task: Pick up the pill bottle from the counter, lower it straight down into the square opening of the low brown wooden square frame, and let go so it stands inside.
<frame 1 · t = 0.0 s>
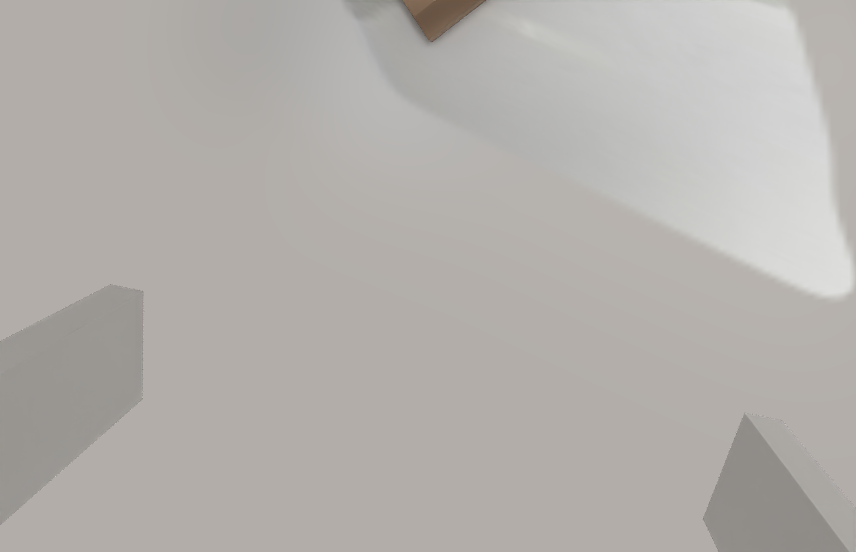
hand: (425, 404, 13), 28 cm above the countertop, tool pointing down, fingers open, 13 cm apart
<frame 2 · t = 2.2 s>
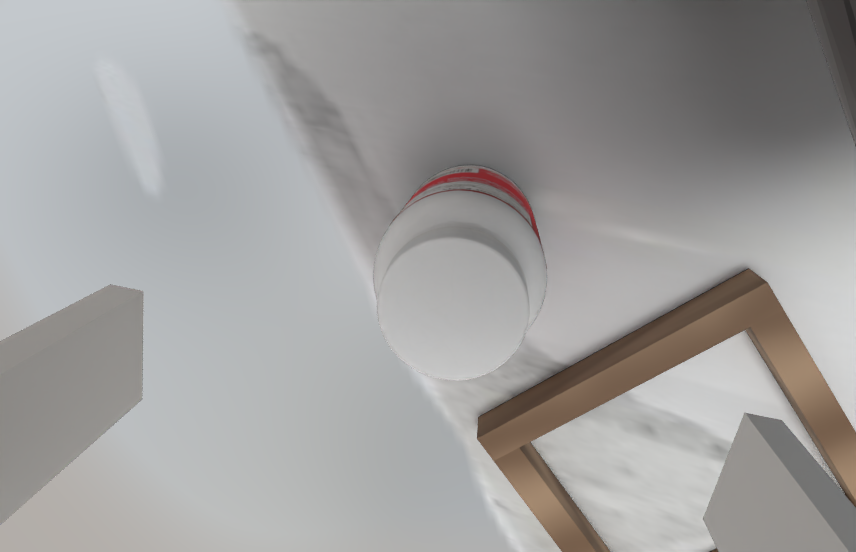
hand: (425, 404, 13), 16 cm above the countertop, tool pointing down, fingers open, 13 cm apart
brown wooden square frame: (679, 459, 31), on the countertop
pill bottle: (469, 226, 28), on the countertop
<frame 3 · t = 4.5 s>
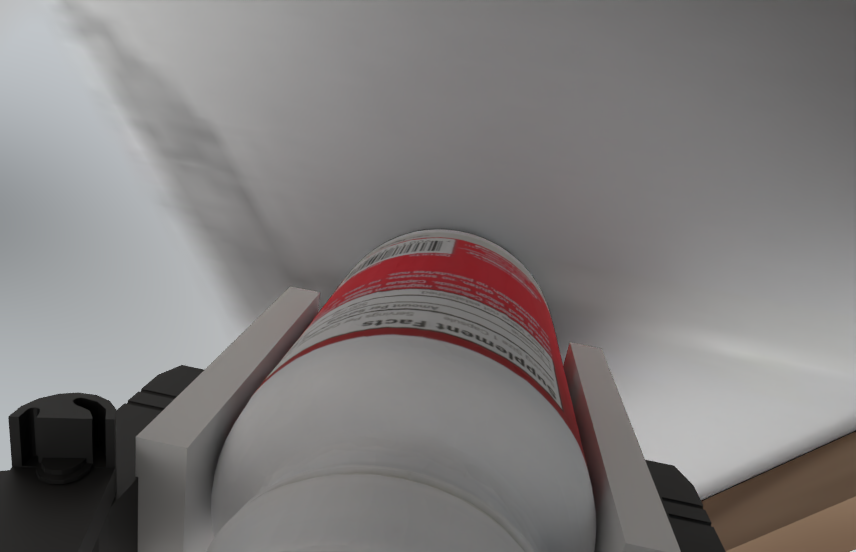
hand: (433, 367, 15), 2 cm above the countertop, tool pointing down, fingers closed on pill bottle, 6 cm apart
pill bottle: (443, 325, 17), on the countertop, touching gripper
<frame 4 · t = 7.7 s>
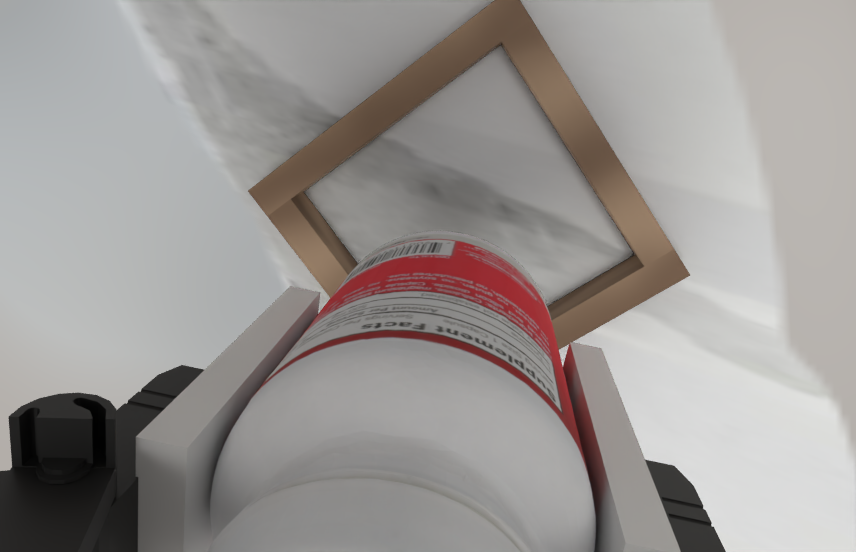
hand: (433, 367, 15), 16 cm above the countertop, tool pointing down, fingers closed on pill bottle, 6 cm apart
brown wooden square frame: (466, 222, 30), on the countertop
pill bottle: (442, 327, 17), point 13 cm above the countertop, touching gripper
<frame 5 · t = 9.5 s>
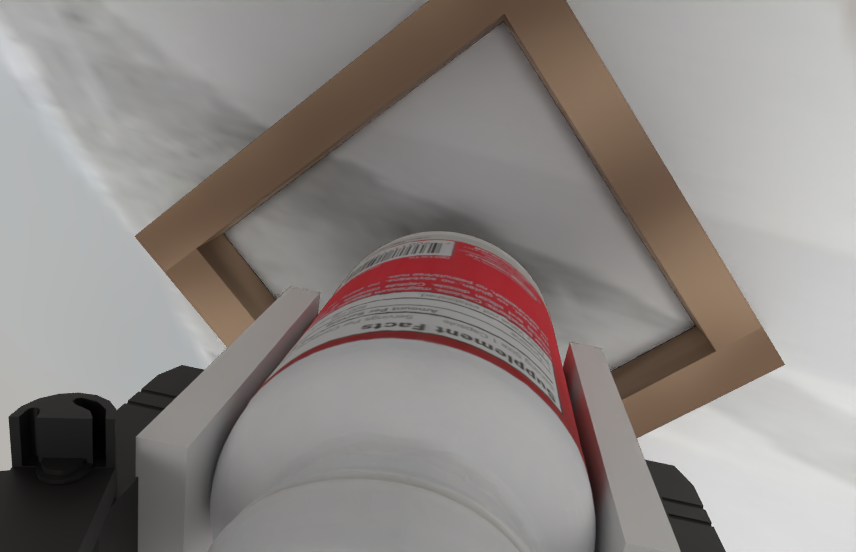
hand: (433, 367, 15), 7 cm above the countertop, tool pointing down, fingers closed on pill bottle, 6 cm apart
brown wooden square frame: (454, 278, 21), on the countertop
pill bottle: (442, 327, 17), point 4 cm above the countertop, touching gripper
when the fingers open (4 cm above the countertop, at t = 11.1 s): pill bottle drops 1 cm, resting in brown wooden square frame.
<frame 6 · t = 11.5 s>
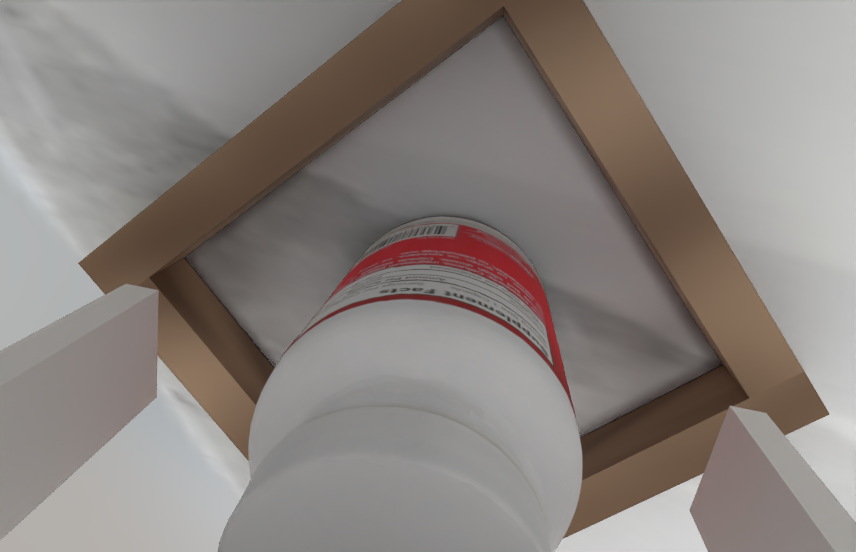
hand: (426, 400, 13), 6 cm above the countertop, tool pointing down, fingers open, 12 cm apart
brown wooden square frame: (446, 310, 18), on the countertop
pill bottle: (446, 306, 18), resting in brown wooden square frame
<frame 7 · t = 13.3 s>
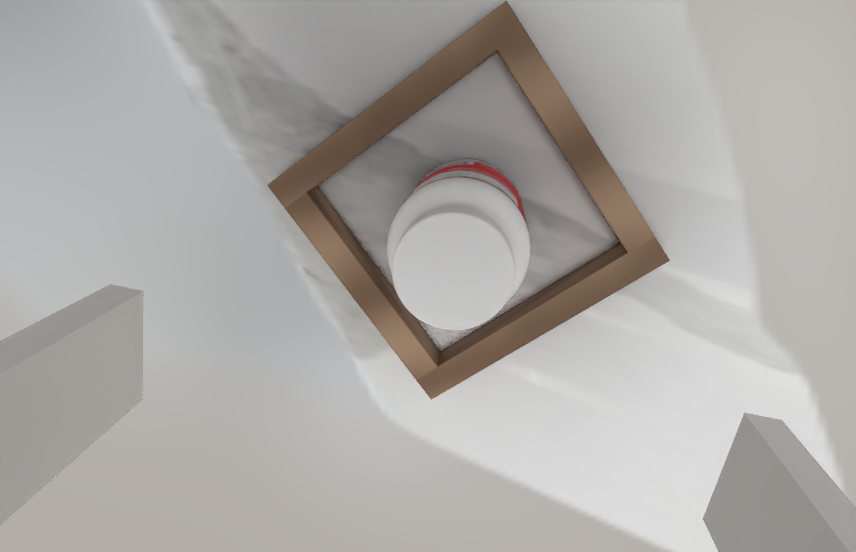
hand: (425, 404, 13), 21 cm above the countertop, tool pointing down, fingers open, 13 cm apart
brown wooden square frame: (466, 214, 33), on the countertop
pill bottle: (466, 212, 33), resting in brown wooden square frame
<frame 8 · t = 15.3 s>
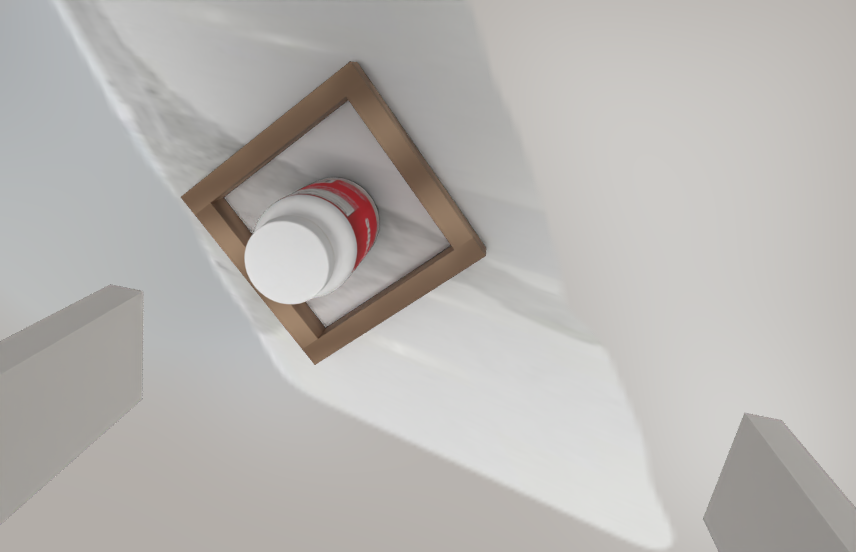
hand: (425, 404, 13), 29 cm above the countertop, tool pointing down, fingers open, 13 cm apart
brown wooden square frame: (338, 219, 42), on the countertop
pill bottle: (339, 218, 42), resting in brown wooden square frame
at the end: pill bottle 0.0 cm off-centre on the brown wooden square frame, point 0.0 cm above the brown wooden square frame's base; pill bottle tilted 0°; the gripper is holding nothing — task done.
